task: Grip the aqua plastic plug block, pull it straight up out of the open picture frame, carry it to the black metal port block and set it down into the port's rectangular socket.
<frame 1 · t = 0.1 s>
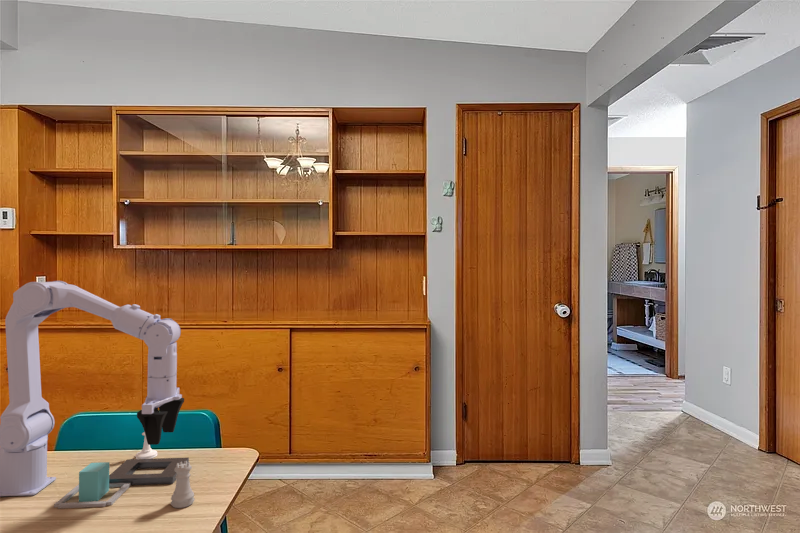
hand: (161, 437, 108), 10 cm above the table, fingers open, 7 cm apart
plug: (94, 496, 101), resting in open picture frame
rook chess piece: (182, 504, 99), on the table
open picture frame: (94, 495, 101), on the table
chess piece: (146, 457, 123), on the table
port block: (149, 474, 112), on the table
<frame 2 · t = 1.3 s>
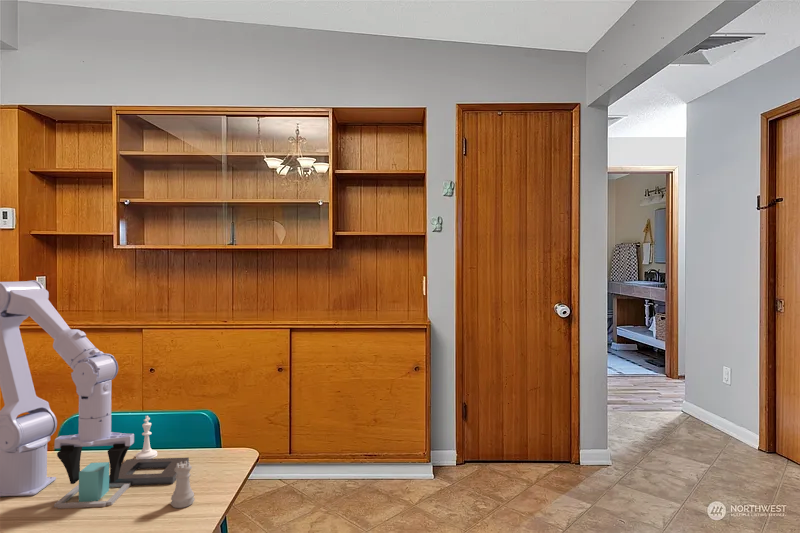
hand: (94, 481, 101), 3 cm above the table, fingers open, 7 cm apart
nothing on the table moved.
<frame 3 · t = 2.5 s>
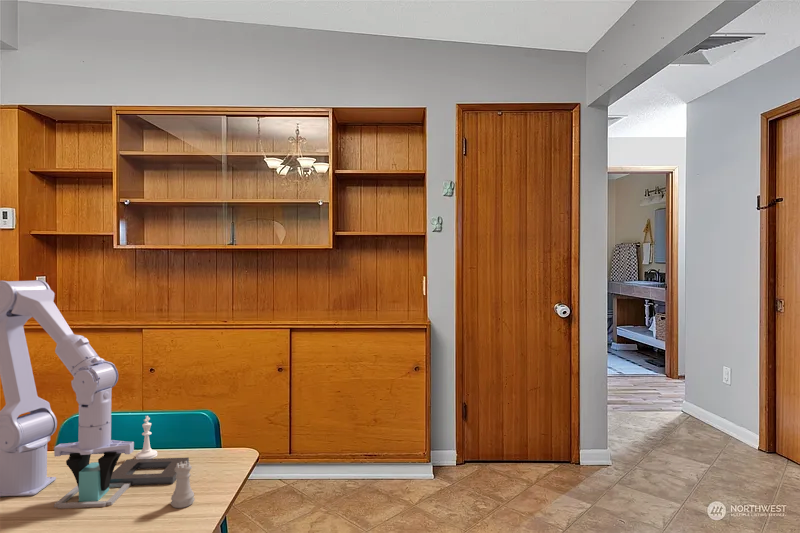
hand: (94, 489, 101), 1 cm above the table, fingers closed on plug, 4 cm apart
plug: (94, 496, 101), resting in open picture frame, touching gripper
everything else where it was.
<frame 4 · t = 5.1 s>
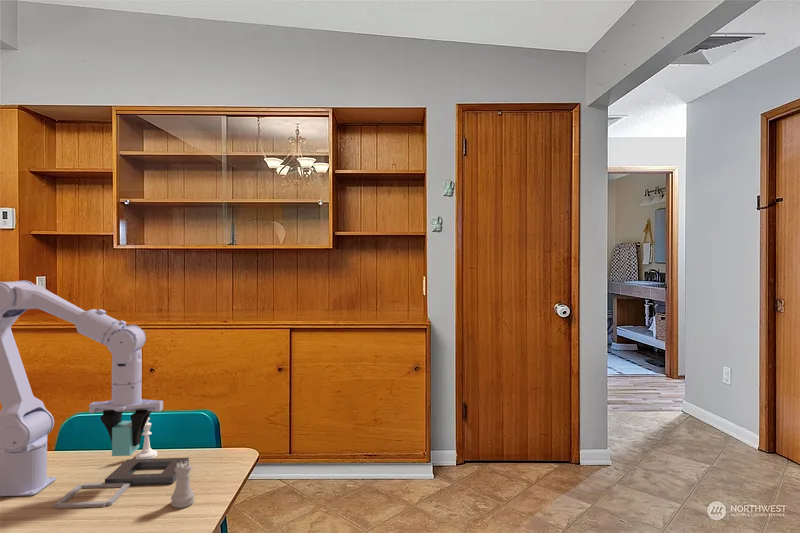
hand: (126, 444, 107), 8 cm above the table, fingers closed on plug, 4 cm apart
plug: (125, 451, 107), point 7 cm above the table, touching gripper
everything else where it was.
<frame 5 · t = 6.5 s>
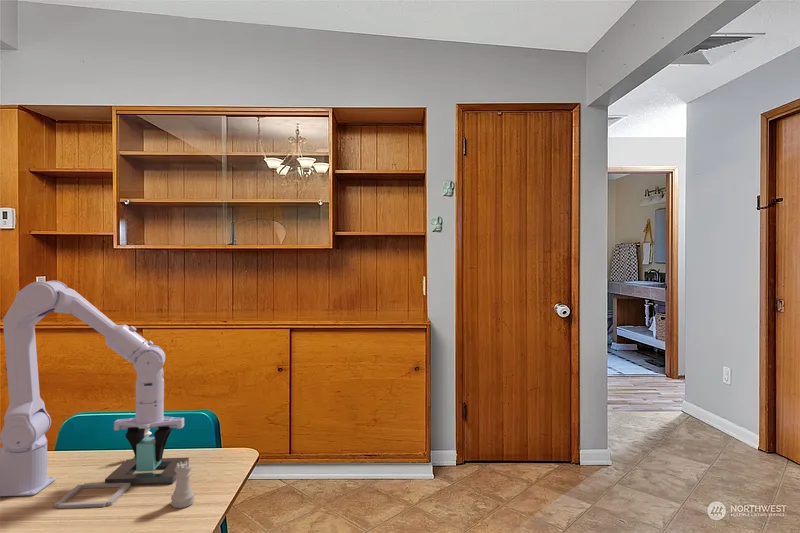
hand: (149, 460, 112), 3 cm above the table, fingers closed on plug, 4 cm apart
plug: (149, 466, 112), point 2 cm above the table, touching gripper
everything else where it was.
when the fingers open (2 cm above the table, at t = 7.5 s): plug stays where it is, resting in port block.
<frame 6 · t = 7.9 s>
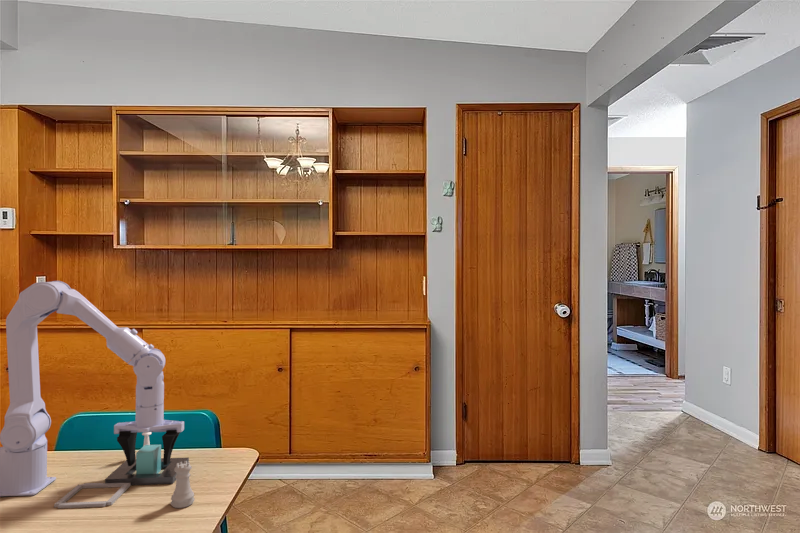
hand: (149, 463, 112), 2 cm above the table, fingers open, 7 cm apart
plug: (148, 475, 112), resting in port block
everything else where it was.
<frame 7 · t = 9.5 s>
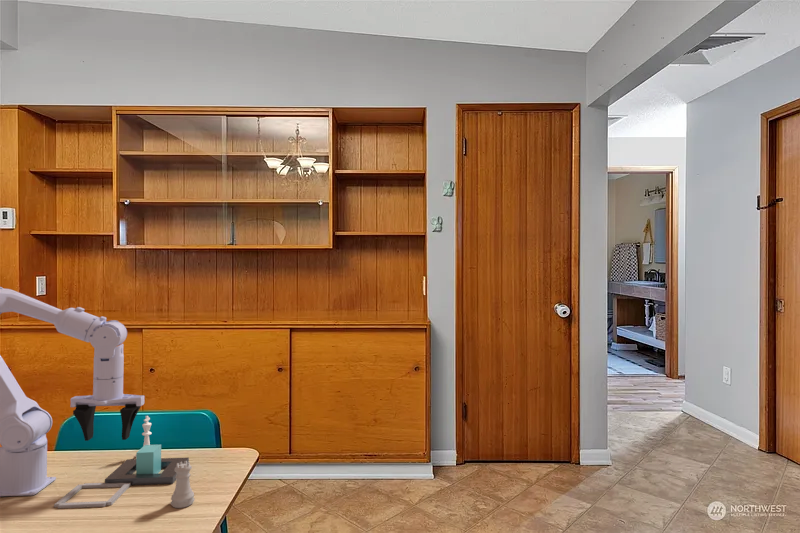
hand: (107, 438, 109), 9 cm above the table, fingers open, 7 cm apart
nothing on the table moved.
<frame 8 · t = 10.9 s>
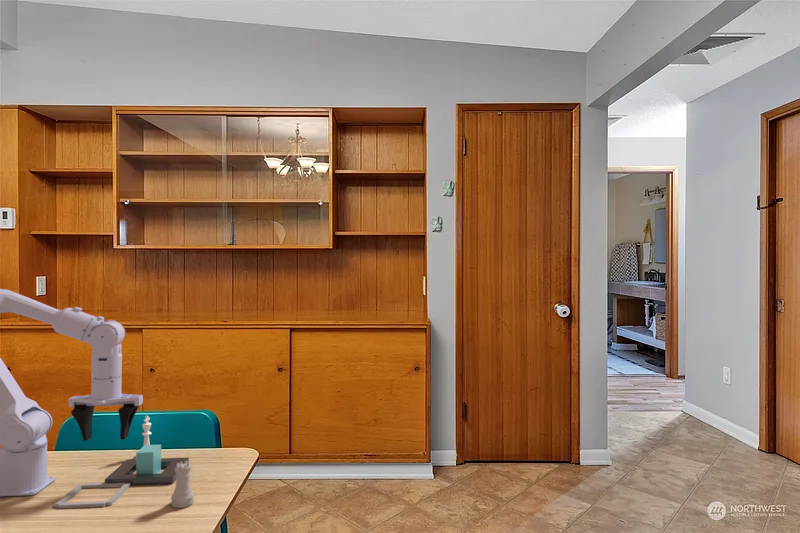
hand: (105, 438, 108), 9 cm above the table, fingers open, 7 cm apart
nothing on the table moved.
at the end: plug 0.2 cm off-centre on the port block, point 0.0 cm above the port block's base; plug tilted 0°; the gripper is holding nothing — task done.
